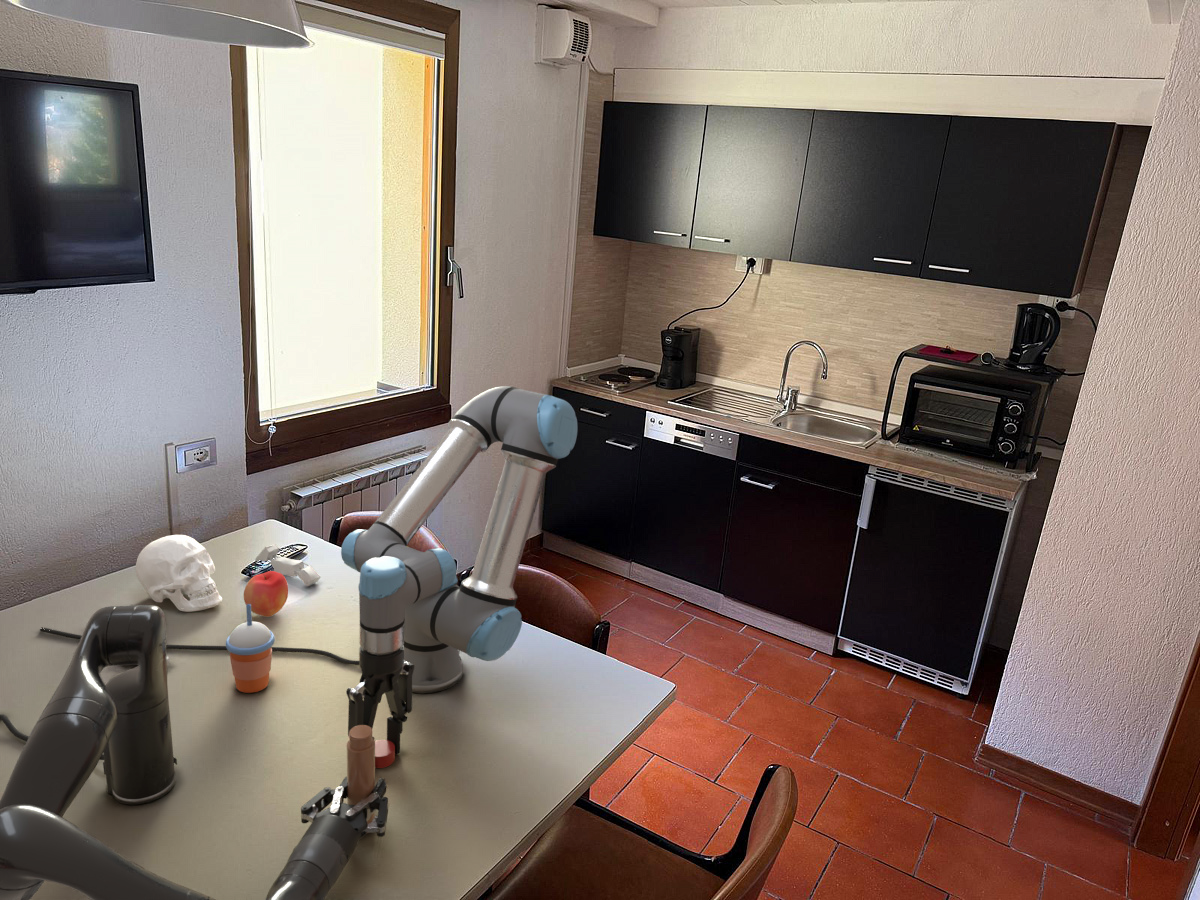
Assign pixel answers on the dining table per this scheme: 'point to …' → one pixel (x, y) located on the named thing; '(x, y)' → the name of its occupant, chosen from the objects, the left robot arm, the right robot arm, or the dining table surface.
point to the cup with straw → (250, 654)
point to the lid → (384, 753)
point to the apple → (266, 593)
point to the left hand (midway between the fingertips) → (368, 780)
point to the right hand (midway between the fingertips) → (380, 758)
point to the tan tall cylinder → (360, 765)
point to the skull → (178, 572)
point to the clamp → (288, 565)
